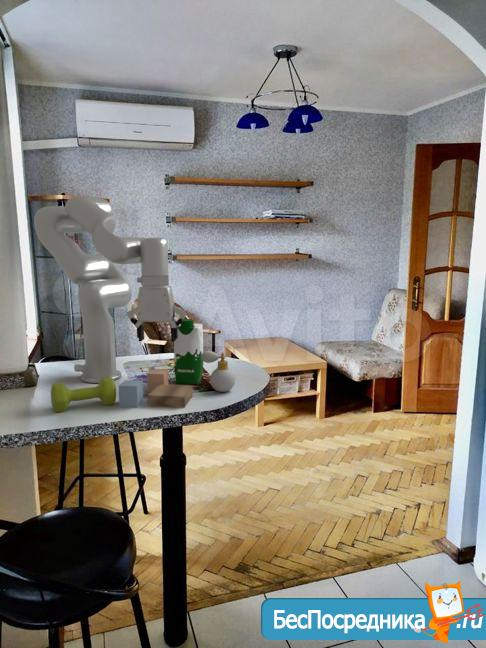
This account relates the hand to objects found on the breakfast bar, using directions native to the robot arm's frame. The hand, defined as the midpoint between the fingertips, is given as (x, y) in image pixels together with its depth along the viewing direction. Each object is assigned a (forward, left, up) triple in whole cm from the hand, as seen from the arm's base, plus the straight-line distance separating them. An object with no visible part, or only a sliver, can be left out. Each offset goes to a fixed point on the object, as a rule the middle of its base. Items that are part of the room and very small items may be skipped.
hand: (157, 340), depth 138 cm
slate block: (-4, -12, -15) cm, 20 cm away
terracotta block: (0, 0, -15) cm, 15 cm away
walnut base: (+6, -8, -15) cm, 18 cm away
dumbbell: (-16, -15, -16) cm, 27 cm away
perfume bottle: (+18, +2, -16) cm, 24 cm away
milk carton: (+7, +11, -16) cm, 20 cm away
